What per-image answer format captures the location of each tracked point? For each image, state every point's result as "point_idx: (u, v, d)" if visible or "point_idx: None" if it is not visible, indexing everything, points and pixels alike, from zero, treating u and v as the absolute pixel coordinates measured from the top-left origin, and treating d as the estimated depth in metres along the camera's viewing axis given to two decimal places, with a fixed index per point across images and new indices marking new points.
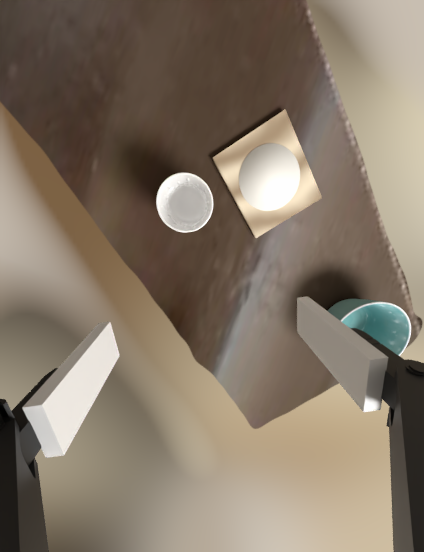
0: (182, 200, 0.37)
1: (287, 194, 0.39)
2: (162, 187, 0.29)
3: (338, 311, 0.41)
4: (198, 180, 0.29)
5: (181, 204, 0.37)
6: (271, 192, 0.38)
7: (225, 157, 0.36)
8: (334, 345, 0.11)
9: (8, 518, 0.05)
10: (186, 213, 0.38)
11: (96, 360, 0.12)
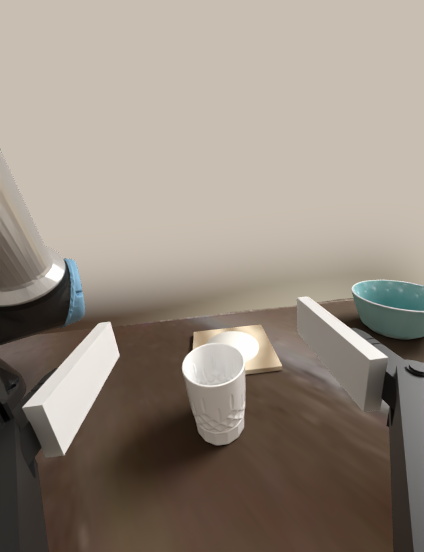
0: None
1: (249, 339, 0.45)
2: None
3: (371, 313, 0.42)
4: (201, 351, 0.30)
5: None
6: (242, 347, 0.43)
7: None
8: (334, 345, 0.11)
9: (8, 518, 0.05)
10: None
11: (96, 360, 0.12)
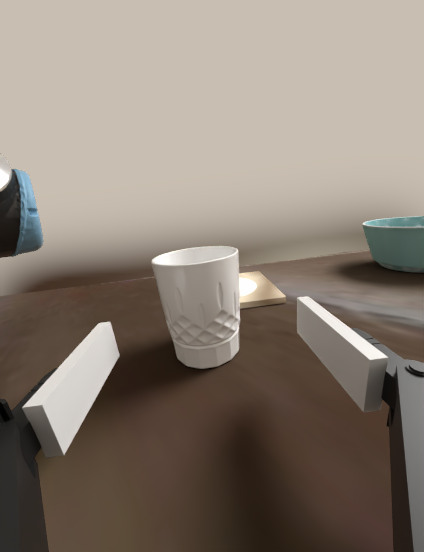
0: None
1: (245, 281, 0.38)
2: None
3: (388, 243, 0.35)
4: (181, 256, 0.23)
5: None
6: None
7: None
8: (334, 345, 0.11)
9: (7, 519, 0.05)
10: None
11: (96, 360, 0.12)
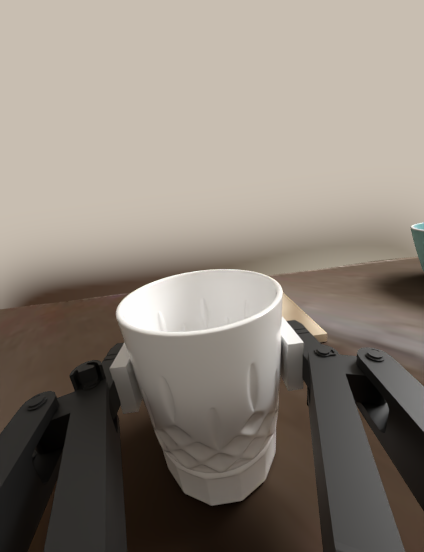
0: None
1: None
2: None
3: None
4: (176, 286, 0.14)
5: None
6: None
7: None
8: None
9: (98, 464, 0.06)
10: None
11: None
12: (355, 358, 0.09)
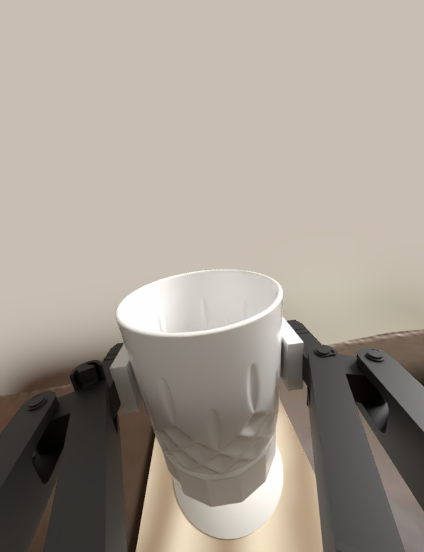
0: None
1: None
2: None
3: None
4: (176, 286, 0.14)
5: None
6: None
7: (150, 547, 0.17)
8: None
9: (98, 465, 0.06)
10: None
11: None
12: (355, 358, 0.09)
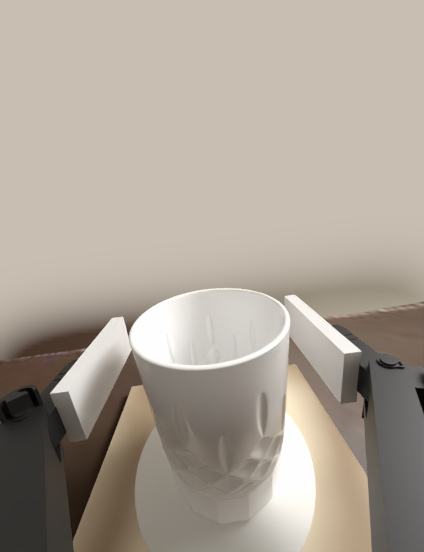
0: None
1: None
2: None
3: None
4: (183, 304, 0.14)
5: None
6: None
7: None
8: (315, 341, 0.11)
9: (36, 499, 0.05)
10: None
11: (112, 353, 0.13)
12: None
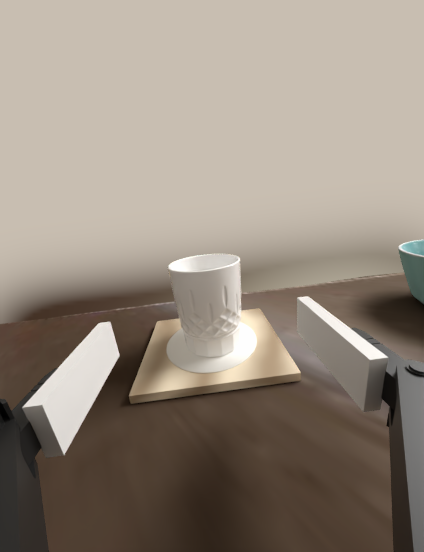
0: None
1: (241, 329, 0.28)
2: None
3: None
4: (191, 262, 0.27)
5: None
6: None
7: (145, 378, 0.21)
8: (334, 345, 0.11)
9: (8, 518, 0.05)
10: None
11: (96, 360, 0.12)
12: None
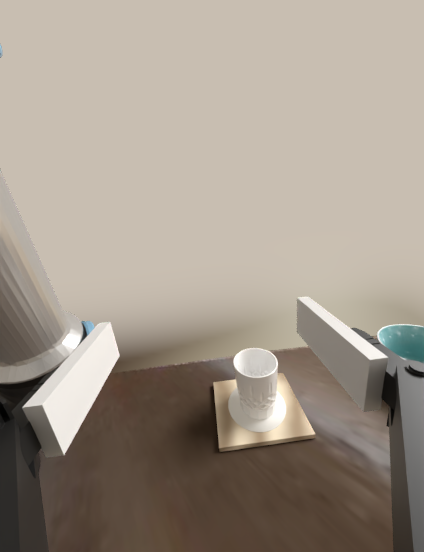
0: None
1: None
2: None
3: None
4: (242, 354, 0.42)
5: None
6: None
7: (224, 435, 0.36)
8: (334, 345, 0.11)
9: (7, 519, 0.05)
10: None
11: (96, 360, 0.12)
12: None
